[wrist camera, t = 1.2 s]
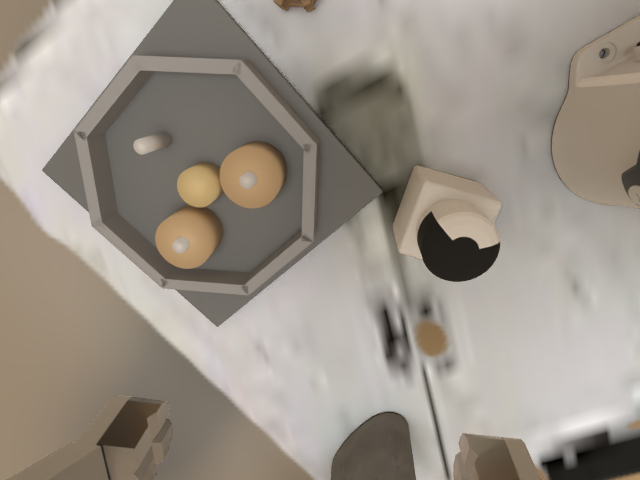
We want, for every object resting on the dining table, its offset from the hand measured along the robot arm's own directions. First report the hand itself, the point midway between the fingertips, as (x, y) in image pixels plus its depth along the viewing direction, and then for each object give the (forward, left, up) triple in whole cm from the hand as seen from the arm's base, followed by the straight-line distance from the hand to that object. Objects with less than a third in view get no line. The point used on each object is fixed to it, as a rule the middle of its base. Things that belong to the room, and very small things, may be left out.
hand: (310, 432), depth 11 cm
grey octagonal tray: (+11, -9, -33) cm, 36 cm away
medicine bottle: (-5, +9, -33) cm, 35 cm away
